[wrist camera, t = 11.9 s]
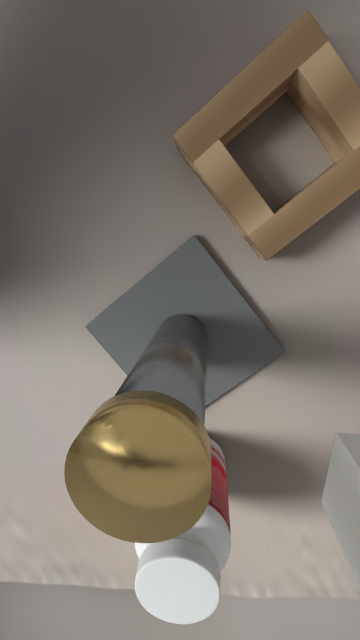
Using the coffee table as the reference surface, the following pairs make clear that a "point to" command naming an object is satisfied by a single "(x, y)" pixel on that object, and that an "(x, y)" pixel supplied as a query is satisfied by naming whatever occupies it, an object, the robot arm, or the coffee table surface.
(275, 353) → the rubber mat
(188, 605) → the pill bottle
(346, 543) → the robot arm
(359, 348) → the coffee table surface
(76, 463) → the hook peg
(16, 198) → the coffee table surface
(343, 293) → the coffee table surface
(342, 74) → the block
